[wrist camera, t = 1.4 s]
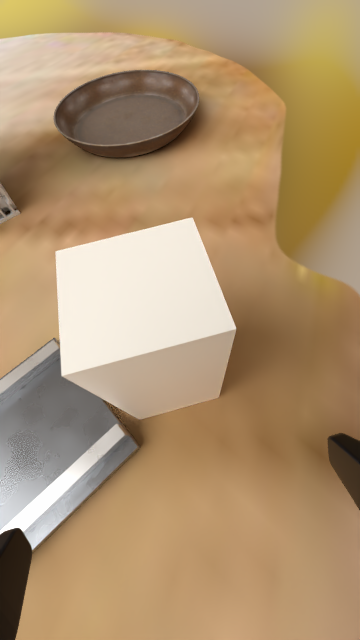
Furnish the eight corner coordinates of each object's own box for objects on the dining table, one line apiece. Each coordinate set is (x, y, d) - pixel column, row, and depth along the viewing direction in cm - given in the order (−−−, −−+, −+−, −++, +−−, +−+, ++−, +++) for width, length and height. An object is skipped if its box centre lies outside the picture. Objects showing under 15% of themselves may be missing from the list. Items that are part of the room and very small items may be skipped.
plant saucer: (110, 85, 47) (104, 60, 44) (220, 101, 42) (221, 74, 39) (36, 153, 39) (22, 129, 36) (159, 184, 34) (155, 159, 31)
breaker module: (218, 397, 21) (236, 329, 10) (139, 419, 21) (61, 376, 10) (194, 322, 25) (187, 203, 13) (125, 340, 24) (54, 235, 13)
